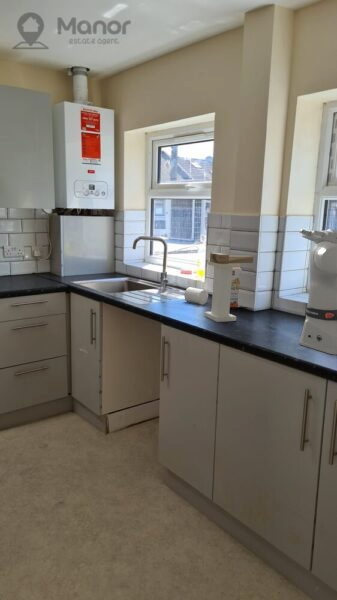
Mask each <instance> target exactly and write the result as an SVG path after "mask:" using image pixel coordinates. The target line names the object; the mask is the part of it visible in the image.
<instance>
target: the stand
mask: <svg viewBox="0 0 337 600" xmlns="http://www.w3.org/2000/svg"><path fill="white" fill-rule="evenodd" d="M207 265H209V266H212V267H213V281H212V282H213V283H212V294H211V295H212V297H211V311H204V313H203V317H205V318H207V319H210V320H211V321H214V322H216V323H221V322H234V321H235V322H236V321H237V316H236V315H234V314H232V313H230V309H231V307H230V296H231V283H232V269H233V268H240V267H241V263H228V264H218V263H213V262H210V260H208V261H207Z"/></svg>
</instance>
